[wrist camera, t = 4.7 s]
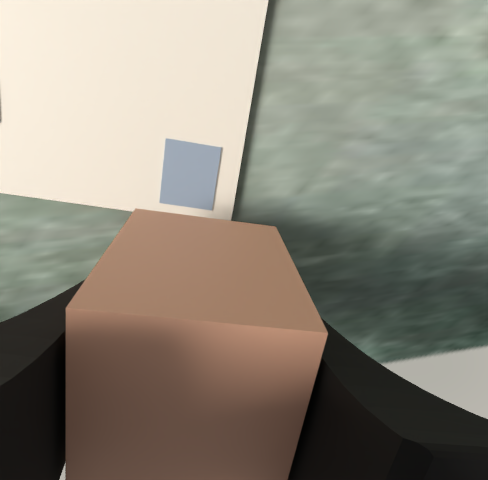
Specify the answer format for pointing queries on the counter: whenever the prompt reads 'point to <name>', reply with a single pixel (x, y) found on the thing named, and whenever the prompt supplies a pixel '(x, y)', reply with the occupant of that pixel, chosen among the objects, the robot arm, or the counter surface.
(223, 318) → the block
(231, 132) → the letter
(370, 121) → the counter surface
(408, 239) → the counter surface
